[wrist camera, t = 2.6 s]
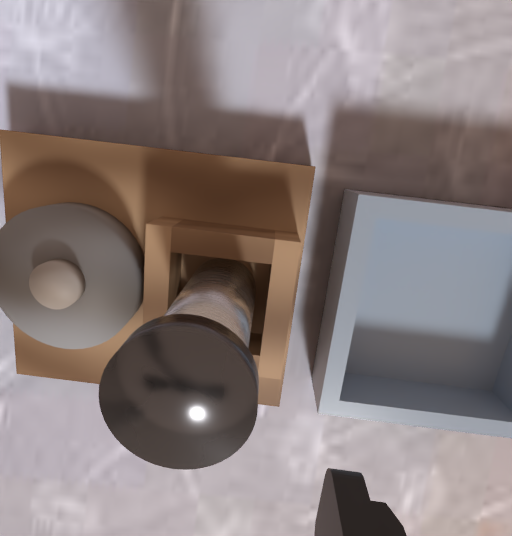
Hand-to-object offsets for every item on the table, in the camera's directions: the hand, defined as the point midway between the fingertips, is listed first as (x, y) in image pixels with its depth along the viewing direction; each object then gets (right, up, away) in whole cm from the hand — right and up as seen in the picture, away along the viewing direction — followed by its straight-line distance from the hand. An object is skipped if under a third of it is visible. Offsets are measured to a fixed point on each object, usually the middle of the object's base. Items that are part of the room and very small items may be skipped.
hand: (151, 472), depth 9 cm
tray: (+13, +3, +14) cm, 19 cm away
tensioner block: (-3, +5, +14) cm, 15 cm away
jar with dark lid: (+1, +4, +12) cm, 12 cm away
